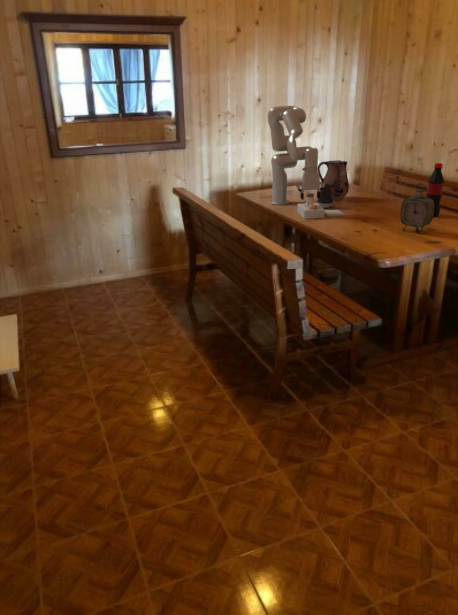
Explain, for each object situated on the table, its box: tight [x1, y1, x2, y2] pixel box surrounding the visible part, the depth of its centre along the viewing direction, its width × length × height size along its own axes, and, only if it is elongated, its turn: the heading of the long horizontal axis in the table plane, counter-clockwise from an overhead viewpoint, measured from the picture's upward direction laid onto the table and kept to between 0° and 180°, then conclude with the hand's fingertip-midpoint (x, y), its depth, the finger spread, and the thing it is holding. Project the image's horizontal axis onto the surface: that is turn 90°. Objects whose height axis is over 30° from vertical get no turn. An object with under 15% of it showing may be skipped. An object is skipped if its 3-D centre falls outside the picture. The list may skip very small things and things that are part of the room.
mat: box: [324, 209, 345, 217], centre depth 306 cm, size 12×10×1 cm
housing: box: [297, 202, 326, 220], centre depth 304 cm, size 18×12×5 cm, turn 6°
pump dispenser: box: [316, 183, 335, 209], centre depth 319 cm, size 10×10×15 cm
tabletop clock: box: [399, 182, 434, 235], centre depth 262 cm, size 14×9×25 cm, turn 45°
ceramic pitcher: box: [317, 159, 350, 201], centre depth 337 cm, size 18×21×25 cm
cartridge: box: [305, 192, 315, 207], centre depth 305 cm, size 4×4×12 cm
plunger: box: [309, 205, 317, 209], centre depth 299 cm, size 5×5×6 cm
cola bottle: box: [426, 162, 445, 218], centre depth 289 cm, size 8×8×30 cm
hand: (310, 198), depth 304 cm, fingers open, 9 cm apart
